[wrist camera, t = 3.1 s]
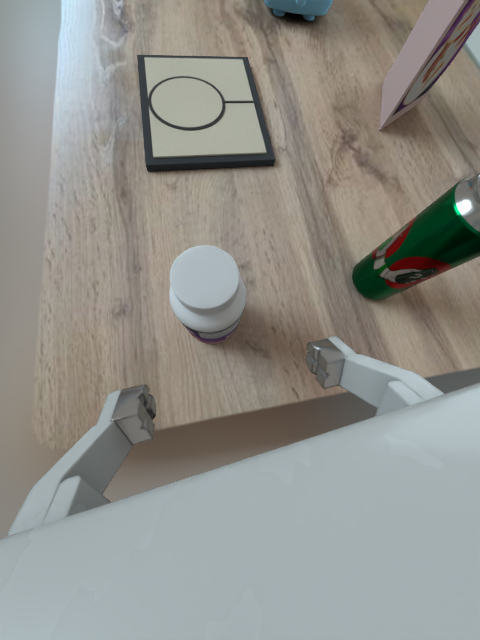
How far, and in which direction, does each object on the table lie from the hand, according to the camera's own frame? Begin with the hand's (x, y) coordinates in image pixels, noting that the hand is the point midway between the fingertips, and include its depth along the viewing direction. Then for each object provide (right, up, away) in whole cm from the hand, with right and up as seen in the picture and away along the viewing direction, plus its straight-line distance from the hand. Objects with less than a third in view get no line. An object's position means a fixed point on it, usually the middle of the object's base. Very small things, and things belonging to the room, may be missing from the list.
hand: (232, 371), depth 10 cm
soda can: (+16, +7, +14) cm, 22 cm away
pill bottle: (-2, +3, +11) cm, 11 cm away
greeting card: (+24, +36, +22) cm, 49 cm away
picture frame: (-5, +31, +18) cm, 36 cm away
